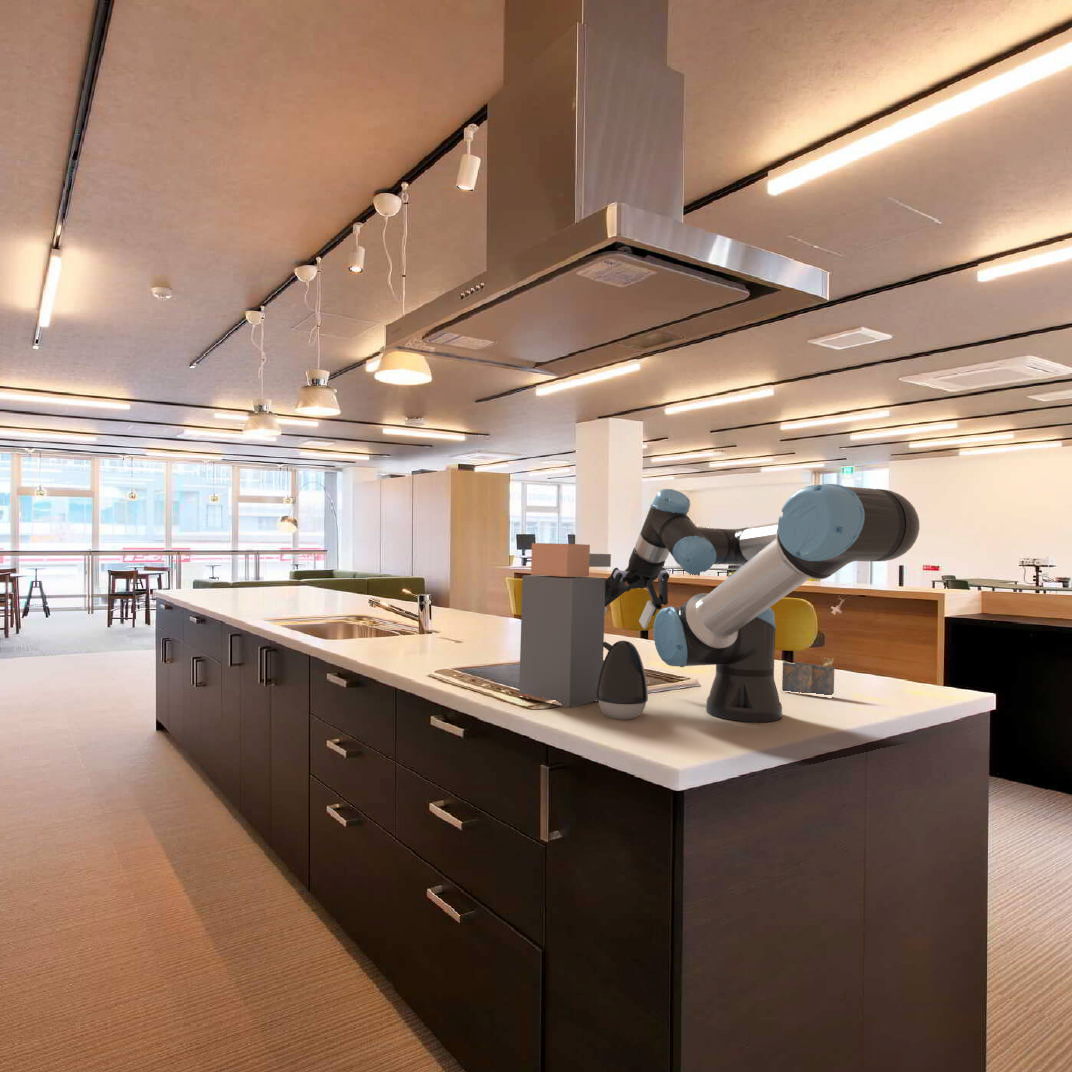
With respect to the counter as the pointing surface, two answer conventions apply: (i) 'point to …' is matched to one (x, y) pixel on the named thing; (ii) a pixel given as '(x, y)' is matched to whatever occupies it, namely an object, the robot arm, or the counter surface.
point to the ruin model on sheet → (809, 677)
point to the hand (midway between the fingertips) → (619, 625)
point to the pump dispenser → (622, 682)
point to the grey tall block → (562, 638)
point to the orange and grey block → (565, 560)
